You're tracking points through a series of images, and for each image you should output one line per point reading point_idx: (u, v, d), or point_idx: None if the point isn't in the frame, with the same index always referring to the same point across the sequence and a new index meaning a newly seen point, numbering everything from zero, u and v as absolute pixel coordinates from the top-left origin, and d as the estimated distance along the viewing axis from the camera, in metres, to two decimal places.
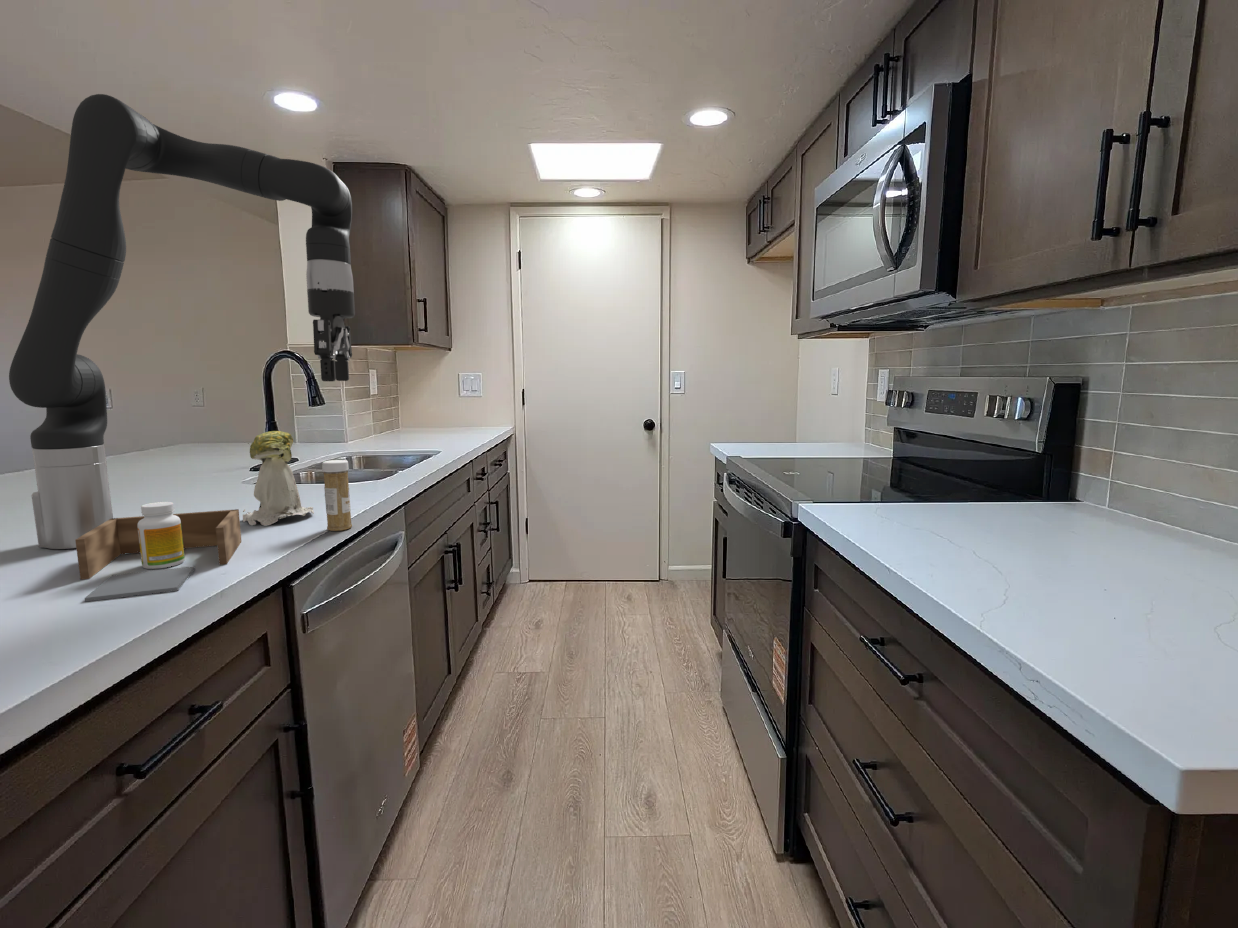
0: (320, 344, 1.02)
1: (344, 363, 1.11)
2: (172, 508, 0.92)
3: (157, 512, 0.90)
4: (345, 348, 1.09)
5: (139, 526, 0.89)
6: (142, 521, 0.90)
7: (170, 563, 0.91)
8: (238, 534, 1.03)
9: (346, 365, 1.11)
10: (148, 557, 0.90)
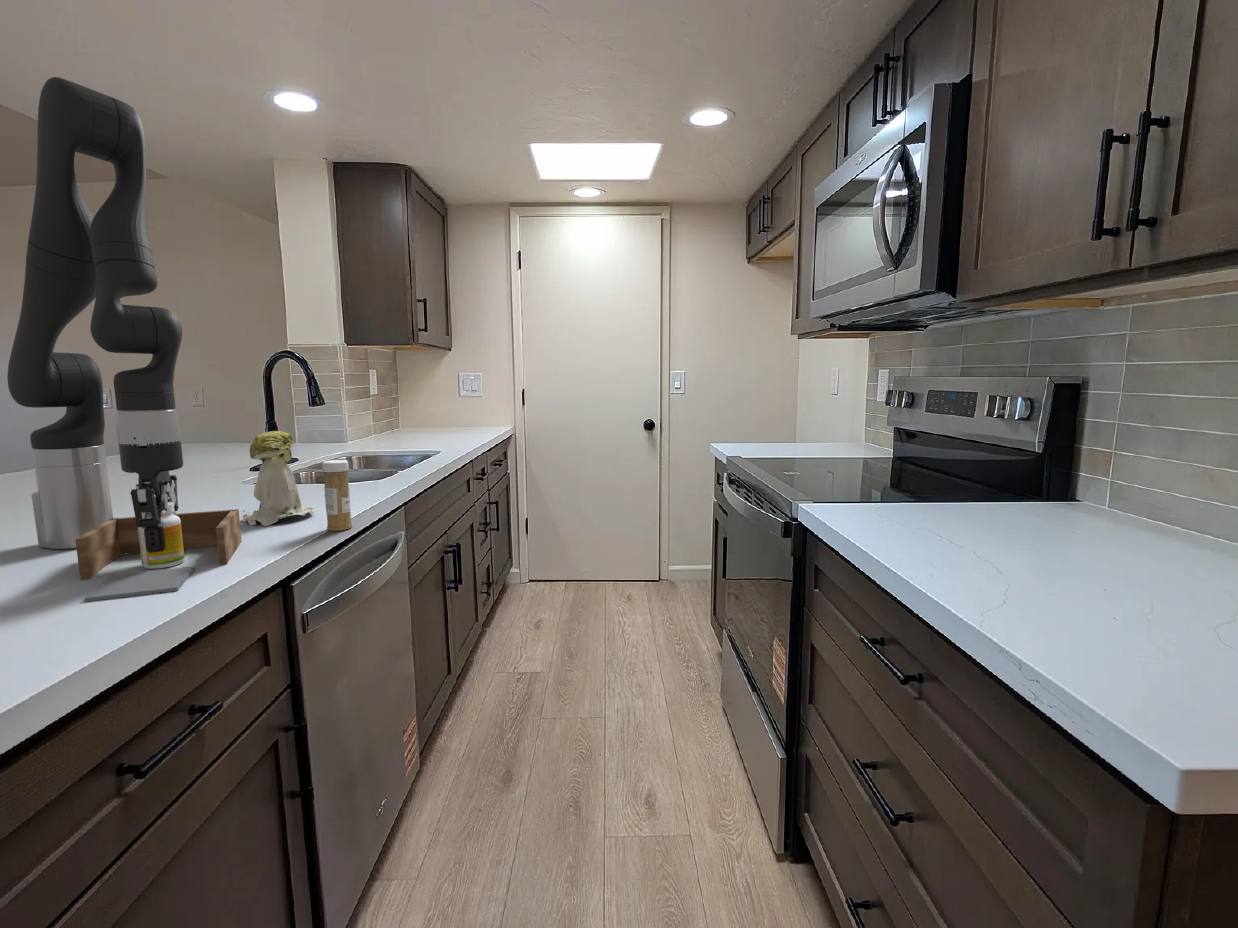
0: None
1: None
2: (172, 508, 0.92)
3: None
4: None
5: None
6: None
7: (170, 563, 0.91)
8: (238, 534, 1.03)
9: None
10: (148, 557, 0.90)
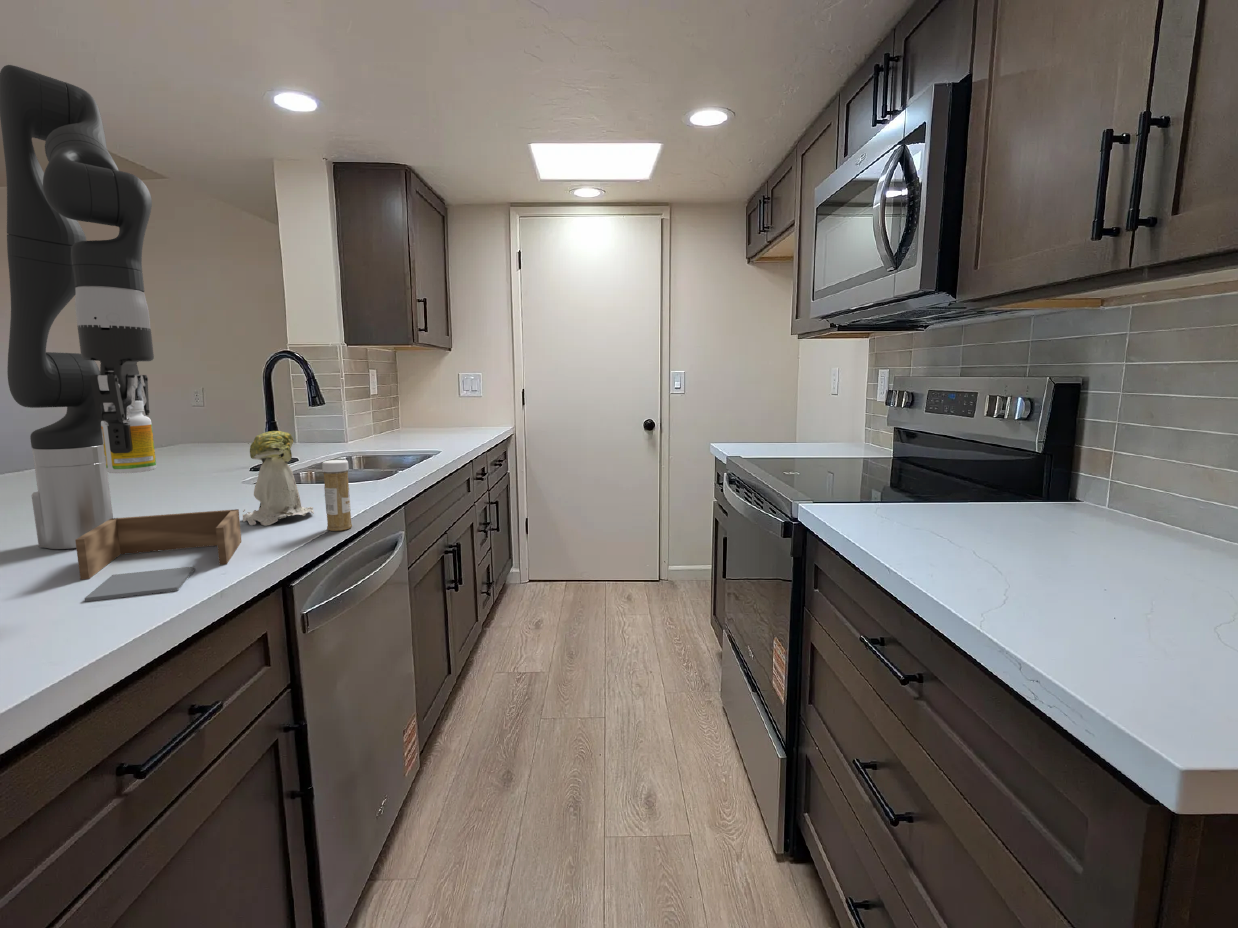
0: (105, 404, 0.77)
1: None
2: (141, 406, 0.81)
3: None
4: None
5: (103, 423, 0.78)
6: None
7: (139, 468, 0.80)
8: (238, 534, 1.03)
9: None
10: (113, 460, 0.79)
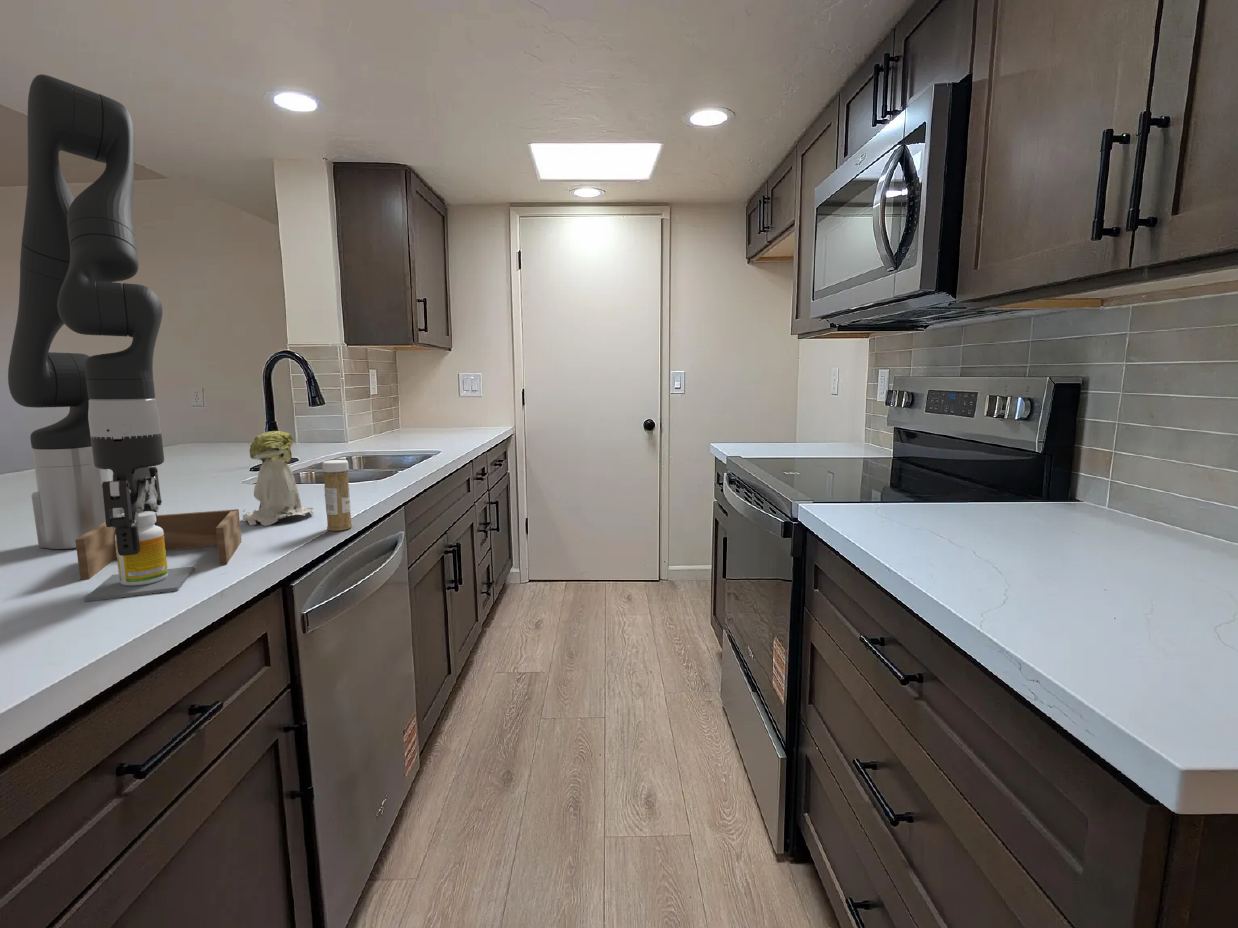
0: (114, 508, 0.78)
1: None
2: (154, 518, 0.83)
3: None
4: (151, 500, 0.85)
5: None
6: None
7: (151, 579, 0.82)
8: (238, 534, 1.03)
9: None
10: (126, 573, 0.81)
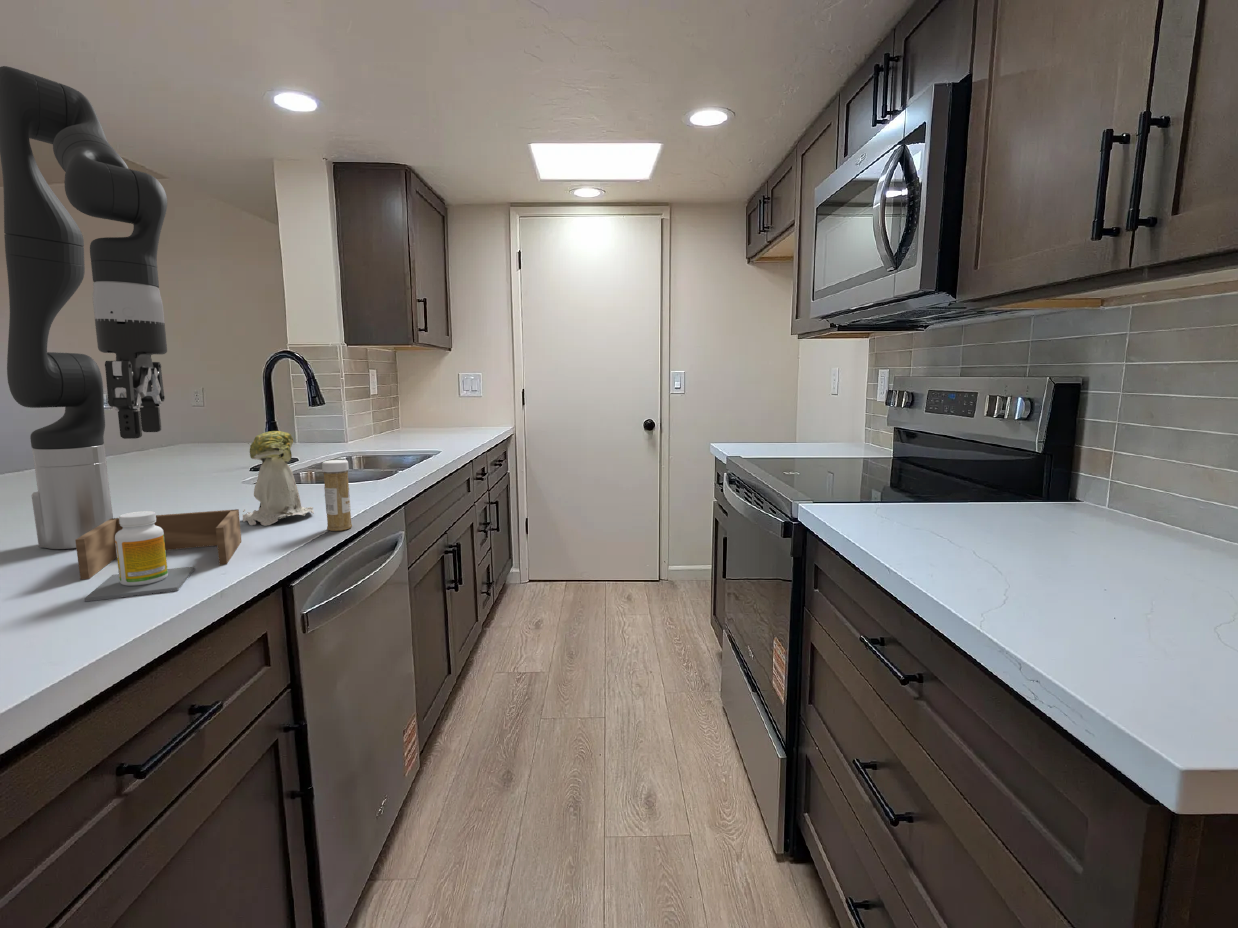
0: (117, 391, 0.79)
1: (154, 410, 0.87)
2: (154, 518, 0.83)
3: (137, 523, 0.81)
4: (154, 392, 0.86)
5: (117, 538, 0.81)
6: (120, 533, 0.81)
7: (151, 579, 0.82)
8: (238, 534, 1.03)
9: (157, 412, 0.87)
10: (126, 573, 0.81)
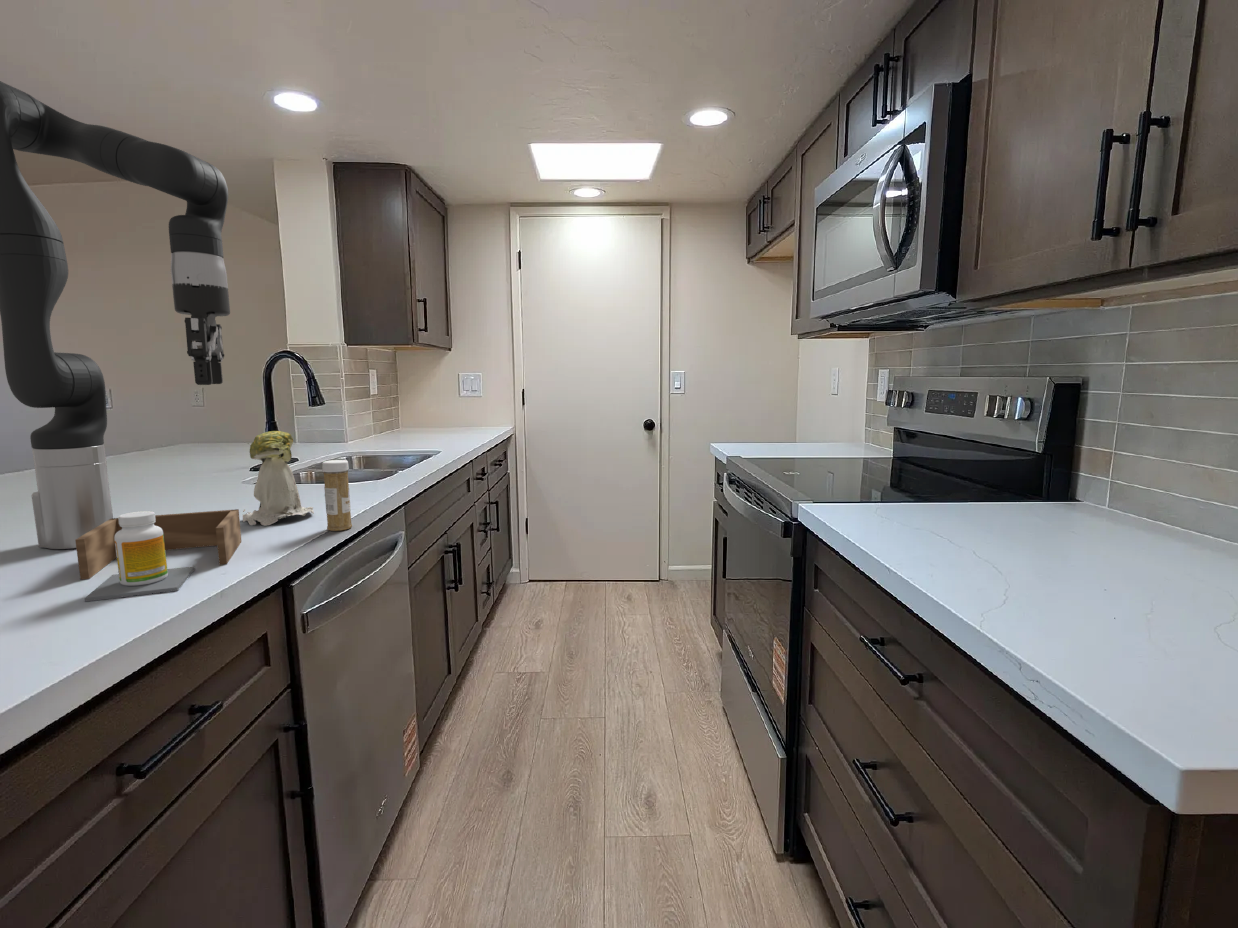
0: (192, 344, 0.93)
1: (217, 364, 1.02)
2: (153, 518, 0.83)
3: (136, 523, 0.81)
4: (218, 348, 1.01)
5: (116, 539, 0.80)
6: (119, 533, 0.81)
7: (151, 579, 0.82)
8: (238, 534, 1.03)
9: (219, 367, 1.02)
10: (126, 573, 0.81)
